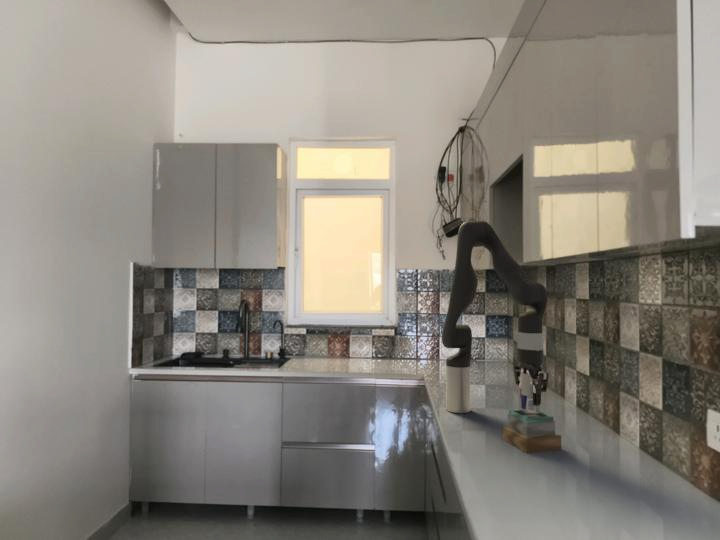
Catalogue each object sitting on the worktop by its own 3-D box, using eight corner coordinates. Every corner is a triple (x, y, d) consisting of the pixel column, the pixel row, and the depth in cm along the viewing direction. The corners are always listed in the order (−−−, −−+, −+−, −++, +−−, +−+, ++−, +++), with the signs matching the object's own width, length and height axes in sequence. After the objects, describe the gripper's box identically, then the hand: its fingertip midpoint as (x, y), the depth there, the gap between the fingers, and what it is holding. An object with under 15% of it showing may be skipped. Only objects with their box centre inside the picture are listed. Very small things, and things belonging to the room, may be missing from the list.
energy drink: (524, 409, 140) (524, 370, 141) (542, 412, 137) (542, 372, 138) (518, 412, 136) (518, 373, 137) (536, 415, 133) (536, 375, 133)
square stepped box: (502, 439, 140) (502, 409, 141) (534, 436, 144) (534, 407, 144) (526, 452, 129) (526, 420, 129) (561, 449, 132) (561, 417, 133)
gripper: (505, 344, 143) (506, 397, 143) (535, 350, 130) (535, 409, 129) (525, 344, 145) (526, 396, 145) (556, 350, 132) (557, 408, 131)
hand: (530, 402), depth 137 cm, fingers closed on energy drink, 5 cm apart
